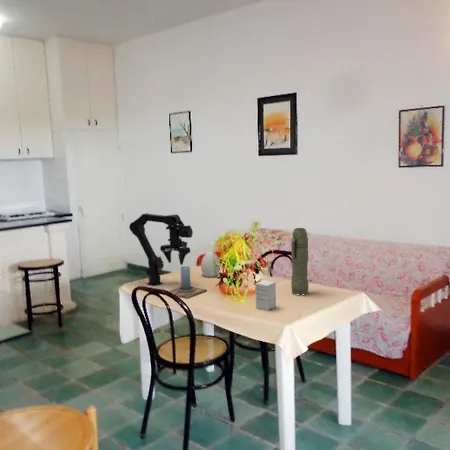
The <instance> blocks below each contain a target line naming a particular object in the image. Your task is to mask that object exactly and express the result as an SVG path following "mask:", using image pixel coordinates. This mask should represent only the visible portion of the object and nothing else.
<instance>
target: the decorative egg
mask: <svg viewBox="0 0 450 450" xmlns="http://www.w3.org/2000/svg"><path fill="white" fill-rule="evenodd" d="M218 259H219V260H220V258H219V256H218V255H217V254H216V253H215V252H214V251H208V252H206V253H205V254H204V255H203V257H202V259H201V263H200V269H201V273H202V275H203V276H204V277H208V278H215V277H217V275H218V276H219V274H218V272H219V271H220V272H221V270H220V268H218V267H216V266H215V265H214V264H216V263H217V262H218Z"/></svg>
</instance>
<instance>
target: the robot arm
mask: <svg viewBox="0 0 450 450" xmlns="http://www.w3.org/2000/svg"><path fill="white" fill-rule="evenodd" d="M147 222H154V223H162V224H165V225H167V226H166V227H165V230H169V231H168V232H169V238H168V239H167V241H168V242H169V244H162V245H160V248H159V250H160V251H161V252H162V253H163V255H164V257H165V258H166V260H167V262H168V263H169V264H171V262H172V252H174V251H175V252H178V253H177V255H178V259H179V263H180V266H182V265H183V264H184V261H185V258H186V256H187V255H188V254H190V253H191V248H190V247H188V242H187V241H184V240H182V239H183V238H187V239H188V238H189V239H191V238H192V237H193V234H194V233H193V228H192V226H191V225H185V223H184V222H183V221H182V219H181V217H180V216H179V215H178V214H169V215H162V214H152V213H148V212H147V213H142V214H141V215H140V216H139V217H138V218H136V219H135V220H133V221H132V222H130V224H129V226H128V227H129V230H130V232H131V233H132V235H134V236H135V237H136V238H137V239H138V242H139V243H140V246H141V247H142V249H143V252H144V254H145V255H146V258H147V261H148V269H146V271H145V273H146V275H147V276H148V282H146V284H147V285H149V286H150V285H151V286H158V285H161V284H163V282H162V281H161V275H160V273H162V270H163V269H164V261H163V260H162V257H161V256H157V255H156V253H155V251H154V249H153V248H152V245H151V243H150V241H149V239H148V237H147V235H146V228H145V225H146V224H147Z"/></svg>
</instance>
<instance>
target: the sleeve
mask: <svg viewBox="0 0 450 450" xmlns="http://www.w3.org/2000/svg"><path fill="white" fill-rule="evenodd" d="M180 281H181V283H180V287H182V290H191V286H192V285H191V284H192V283H191V267H190V266H181V267H180Z"/></svg>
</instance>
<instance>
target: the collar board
mask: <svg viewBox="0 0 450 450" xmlns="http://www.w3.org/2000/svg"><path fill="white" fill-rule="evenodd" d="M169 291H170V292H172V293H174V294H175V295H177V296H178V298H182V299H187V300H188V299H190V298H193V297H196V296H199V295H201V294H204V293H206V292H207V291H208V290H207V289H205V288H201V287H196V286H193V285H191V290H182V287H181V286H178V287H177V288H174V289H171V290H169ZM177 296H176V297H177Z"/></svg>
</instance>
